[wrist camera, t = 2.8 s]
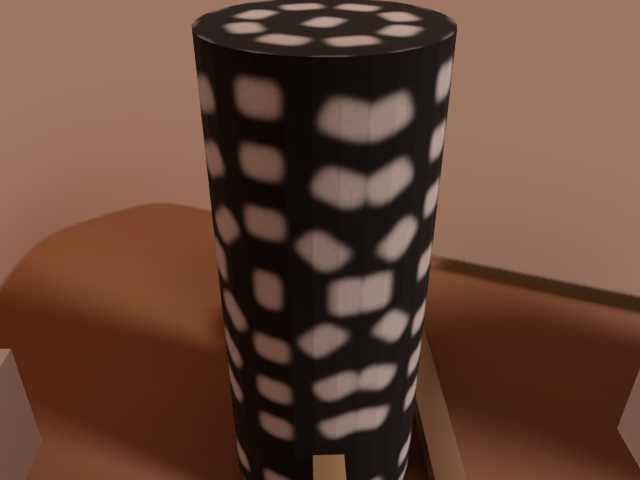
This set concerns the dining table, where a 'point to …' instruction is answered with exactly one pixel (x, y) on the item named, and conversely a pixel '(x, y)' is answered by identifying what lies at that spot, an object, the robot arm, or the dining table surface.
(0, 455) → the robot arm
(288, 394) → the white-spotted black cylinder
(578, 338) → the dining table surface
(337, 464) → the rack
